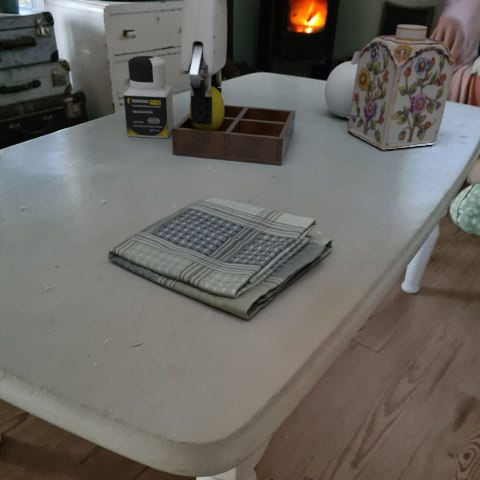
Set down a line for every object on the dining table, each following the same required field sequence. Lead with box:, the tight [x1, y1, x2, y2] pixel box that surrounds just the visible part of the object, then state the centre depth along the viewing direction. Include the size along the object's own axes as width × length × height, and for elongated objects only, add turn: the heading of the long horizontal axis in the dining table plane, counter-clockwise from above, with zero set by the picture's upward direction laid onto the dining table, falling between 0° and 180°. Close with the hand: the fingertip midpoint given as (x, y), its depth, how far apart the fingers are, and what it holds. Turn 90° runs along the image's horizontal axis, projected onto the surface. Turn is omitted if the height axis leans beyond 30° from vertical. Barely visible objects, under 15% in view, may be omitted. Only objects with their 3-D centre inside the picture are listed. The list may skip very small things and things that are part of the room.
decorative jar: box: [347, 24, 456, 149], centre depth 88 cm, size 12×12×18 cm
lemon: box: [188, 83, 225, 131], centre depth 82 cm, size 6×6×8 cm
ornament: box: [324, 51, 361, 118], centre depth 101 cm, size 10×10×12 cm
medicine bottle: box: [123, 55, 175, 139], centre depth 88 cm, size 7×7×12 cm
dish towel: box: [107, 195, 334, 320], centre depth 55 cm, size 19×18×3 cm
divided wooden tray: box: [171, 104, 296, 166], centre depth 87 cm, size 17×17×4 cm
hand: (206, 117), depth 82 cm, fingers closed on lemon, 5 cm apart
